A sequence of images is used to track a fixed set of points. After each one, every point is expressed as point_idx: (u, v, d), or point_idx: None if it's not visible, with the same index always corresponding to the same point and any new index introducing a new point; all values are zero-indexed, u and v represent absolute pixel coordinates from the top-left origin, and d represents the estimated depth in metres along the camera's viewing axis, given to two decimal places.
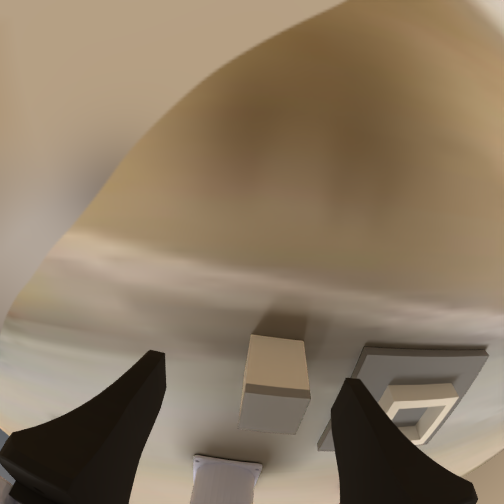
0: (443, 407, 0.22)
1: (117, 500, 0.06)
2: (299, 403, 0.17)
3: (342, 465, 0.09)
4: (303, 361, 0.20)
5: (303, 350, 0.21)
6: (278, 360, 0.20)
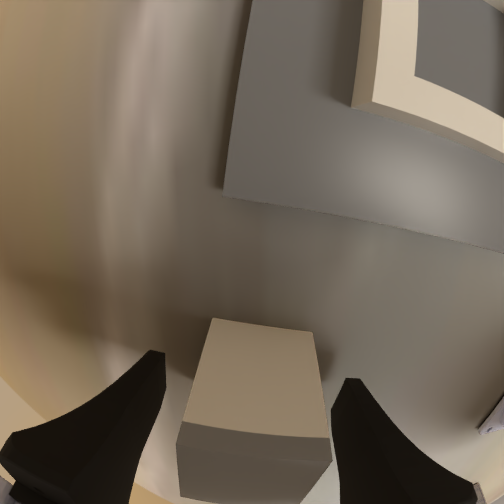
0: None
1: (117, 500, 0.06)
2: (195, 458, 0.07)
3: (342, 465, 0.09)
4: None
5: (207, 337, 0.11)
6: None
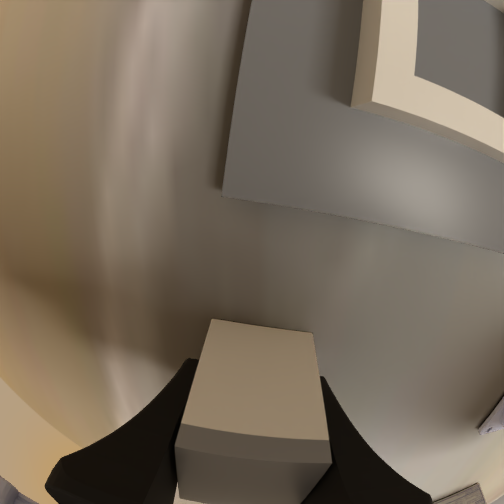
0: None
1: None
2: (194, 460, 0.07)
3: None
4: (199, 363, 0.10)
5: (206, 338, 0.11)
6: None
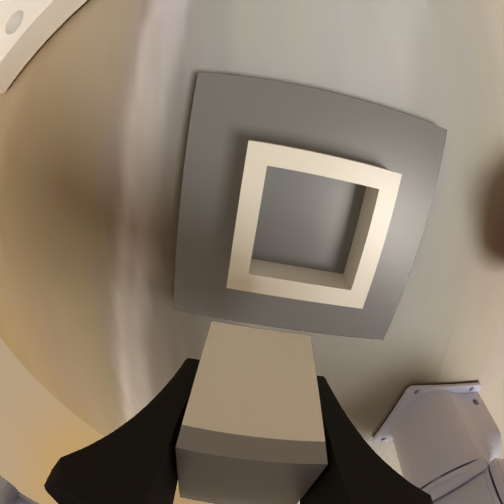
0: (277, 166, 0.14)
1: None
2: (194, 460, 0.07)
3: None
4: (199, 365, 0.10)
5: (206, 341, 0.11)
6: None
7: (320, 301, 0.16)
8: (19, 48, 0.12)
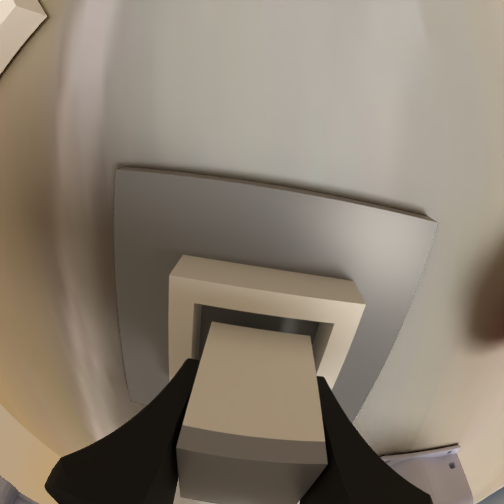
0: None
1: None
2: (195, 460, 0.07)
3: None
4: None
5: (206, 341, 0.11)
6: None
7: None
8: None
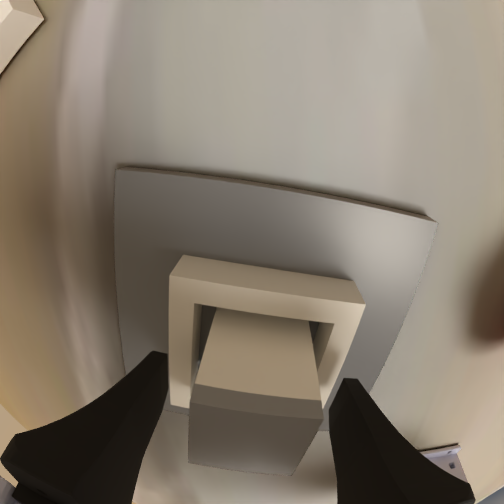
0: None
1: (120, 501, 0.06)
2: (205, 416, 0.08)
3: (339, 465, 0.09)
4: None
5: (214, 316, 0.13)
6: None
7: None
8: None
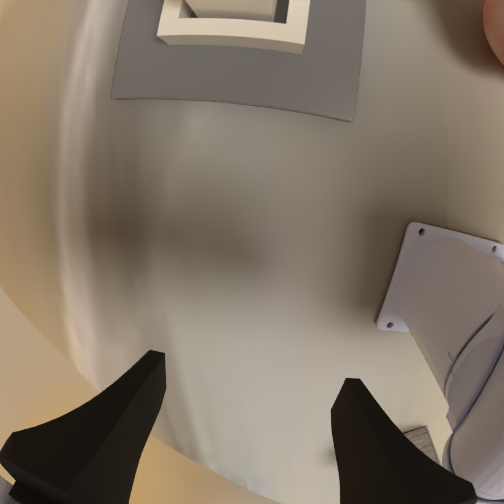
0: None
1: (117, 500, 0.06)
2: None
3: (342, 465, 0.09)
4: None
5: None
6: None
7: (253, 35, 0.12)
8: None
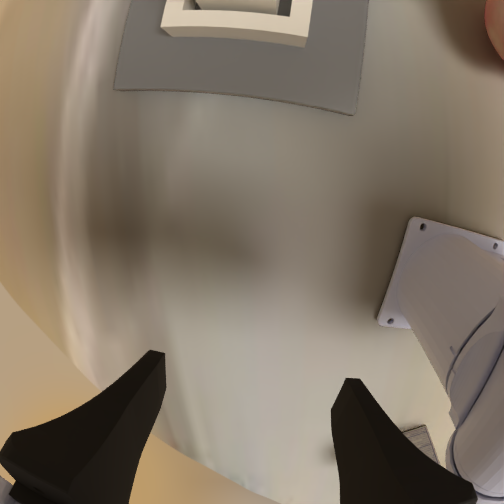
0: None
1: (117, 500, 0.06)
2: None
3: (342, 465, 0.09)
4: None
5: None
6: None
7: (257, 28, 0.12)
8: None
